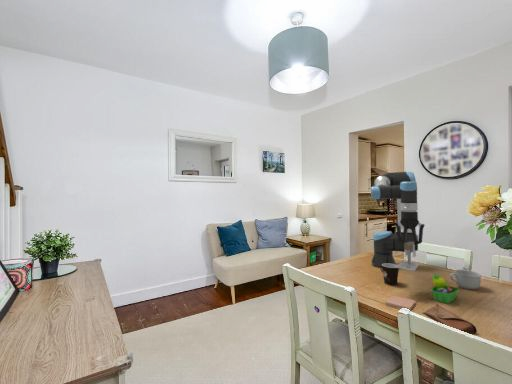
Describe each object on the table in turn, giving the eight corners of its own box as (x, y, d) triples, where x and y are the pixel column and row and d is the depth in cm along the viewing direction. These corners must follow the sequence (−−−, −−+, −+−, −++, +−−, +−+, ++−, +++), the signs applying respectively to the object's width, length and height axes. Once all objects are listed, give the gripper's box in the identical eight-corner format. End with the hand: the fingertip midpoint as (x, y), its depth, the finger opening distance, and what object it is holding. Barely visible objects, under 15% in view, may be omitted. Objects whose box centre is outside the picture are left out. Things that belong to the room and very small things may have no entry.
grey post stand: (404, 260, 140) (403, 241, 140) (421, 262, 135) (420, 242, 135) (395, 267, 128) (395, 246, 128) (414, 270, 123) (413, 248, 123)
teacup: (475, 284, 139) (474, 270, 139) (486, 292, 129) (485, 276, 129) (444, 282, 144) (444, 268, 144) (453, 289, 133) (452, 274, 133)
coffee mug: (401, 286, 140) (401, 268, 140) (384, 285, 142) (384, 267, 142) (394, 279, 151) (394, 262, 151) (378, 278, 153) (378, 261, 153)
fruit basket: (449, 305, 116) (448, 280, 116) (427, 298, 124) (427, 275, 124) (459, 299, 122) (459, 275, 122) (438, 293, 130) (438, 270, 130)
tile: (391, 295, 126) (385, 301, 119) (415, 300, 119) (409, 308, 112) (391, 298, 126) (385, 305, 119) (415, 304, 119) (409, 312, 112)
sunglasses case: (419, 312, 111) (426, 298, 111) (432, 319, 111) (439, 305, 112) (456, 335, 93) (464, 318, 93) (471, 343, 93) (479, 327, 94)
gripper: (390, 211, 137) (391, 255, 137) (425, 212, 126) (427, 260, 126) (394, 210, 142) (395, 252, 142) (428, 210, 131) (430, 256, 131)
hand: (410, 255), depth 134 cm, fingers closed on grey post stand, 3 cm apart
